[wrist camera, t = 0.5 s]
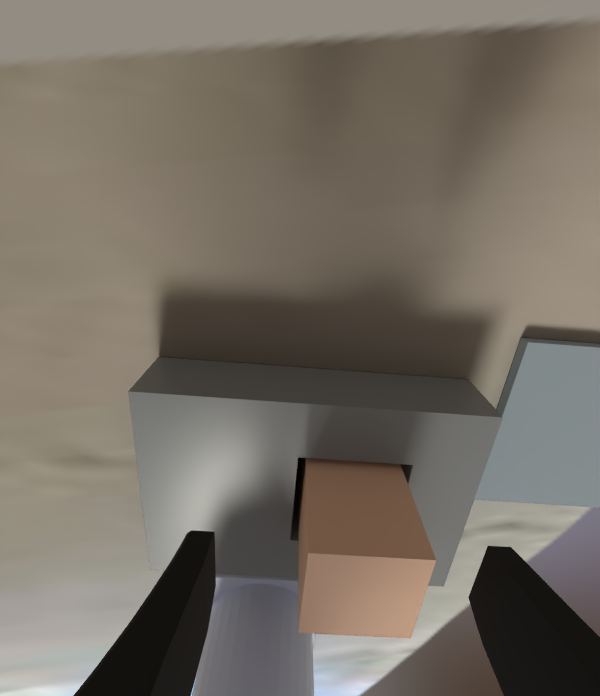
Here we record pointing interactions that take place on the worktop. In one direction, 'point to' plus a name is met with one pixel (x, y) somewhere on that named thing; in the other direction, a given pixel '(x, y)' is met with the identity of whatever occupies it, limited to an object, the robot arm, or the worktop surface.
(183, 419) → the plate
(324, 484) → the plug
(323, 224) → the worktop surface
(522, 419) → the mat
